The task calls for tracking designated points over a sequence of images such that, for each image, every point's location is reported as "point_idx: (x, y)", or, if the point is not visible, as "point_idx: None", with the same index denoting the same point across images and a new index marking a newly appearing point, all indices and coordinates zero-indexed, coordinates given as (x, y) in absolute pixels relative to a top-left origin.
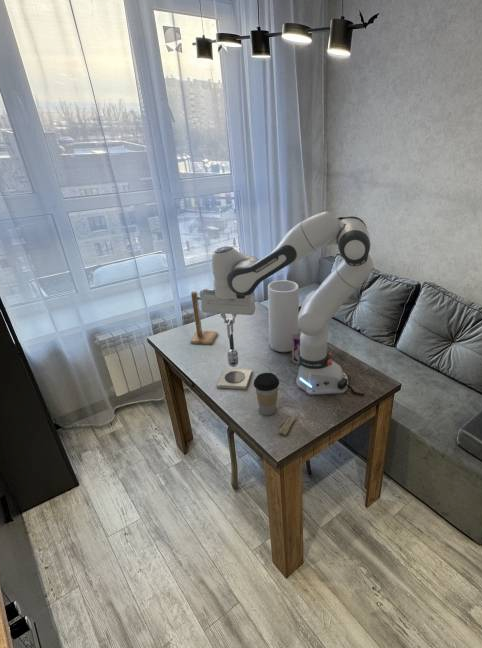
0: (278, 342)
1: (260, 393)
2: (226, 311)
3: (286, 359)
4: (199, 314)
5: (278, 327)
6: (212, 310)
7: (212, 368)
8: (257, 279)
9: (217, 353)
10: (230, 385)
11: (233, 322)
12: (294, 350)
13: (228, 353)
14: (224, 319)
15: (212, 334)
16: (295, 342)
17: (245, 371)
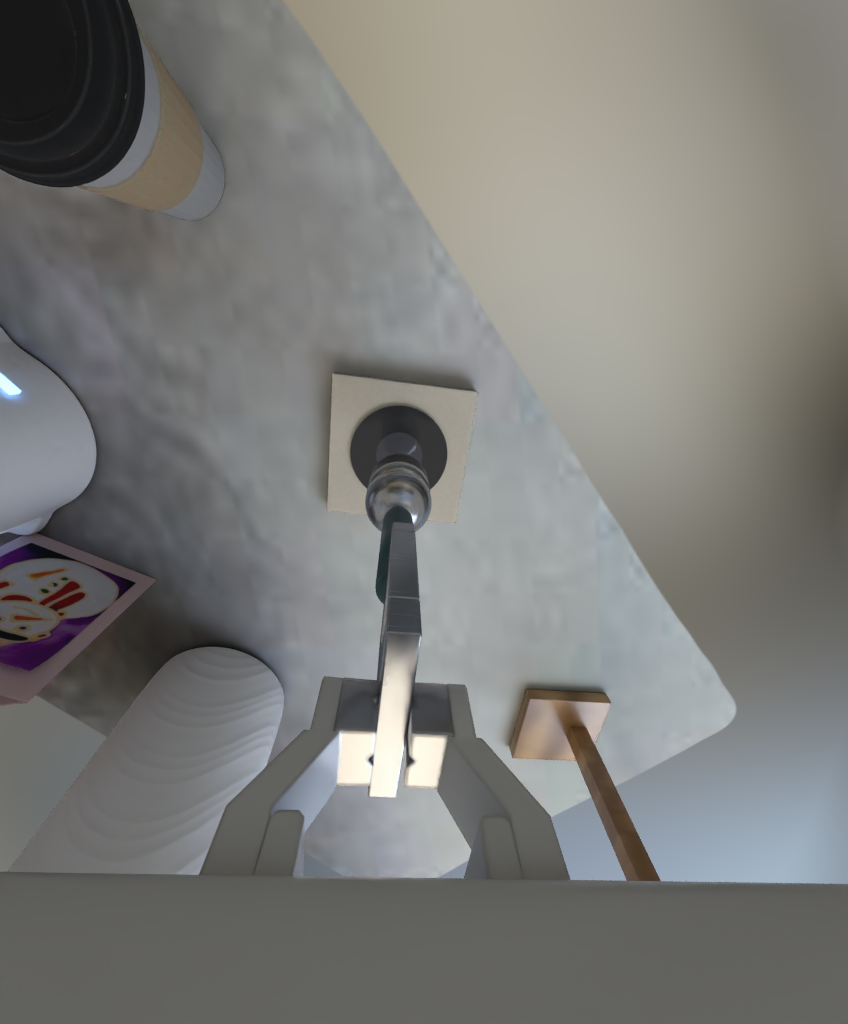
0: (212, 685)
1: None
2: (423, 977)
3: (188, 599)
4: (614, 844)
5: (164, 767)
6: (832, 983)
7: (510, 535)
8: None
9: (497, 635)
10: (411, 385)
11: (323, 689)
12: (94, 616)
13: (423, 491)
14: (470, 736)
15: (528, 742)
16: (43, 651)
17: (355, 499)
